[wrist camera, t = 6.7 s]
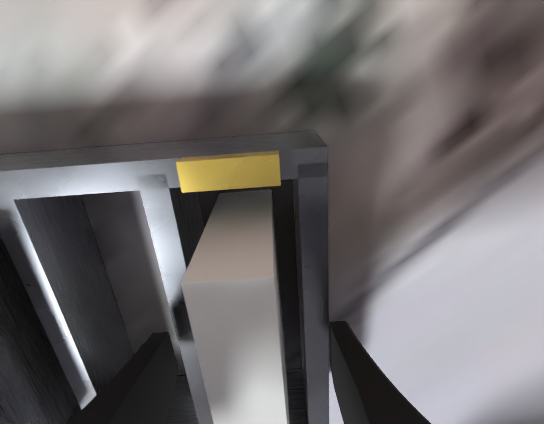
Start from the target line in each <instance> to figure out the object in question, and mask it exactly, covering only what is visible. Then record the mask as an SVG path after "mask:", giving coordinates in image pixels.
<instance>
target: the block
mask: <svg viewBox="0 0 544 424" xmlns="http://www.w3.org/2000/svg"><path fill="white" fill-rule="evenodd" d="M181 286H182V290H183V295H184V299H185V303H186V308H187V312H188V316H189V320H190V325H191V329H192V333H193V338H194V342H195V346H196V350H197V355H198V359H199V363H200V367H201V372H202V376H203V380H204V385H205V389H206V393H207V397H208V402H209V406H210V410H211V415H212V419H213V423H214V424H289V407H288V390H287V374H286V357H285V343H284V332H283V320H282V308H281V296H280V285H279V273H278V261H277V249H276V238H275V226H274V214H273V202H272V191H271V189H270V190H257V191H244V192H231V193H220V194H219V196H218V199H217V201H216V203H215V206H214V208H213V210H212V212H211V215H210V217H209V219H208V222H207V224H206V226H205V229H204V231H203V233H202V236H201V238H200V240H199V243H198V245H197V247H196V250H195V252H194V254H193V257H192V259H191V261H190V263H189V266H188V268H187V270H186V273H185V275H184V277H183V280H182V282H181Z"/></svg>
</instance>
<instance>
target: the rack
mask: <svg viewBox="0 0 544 424" xmlns="http://www.w3.org/2000/svg"><path fill="white" fill-rule="evenodd" d="M287 179H293V195H294V215H295V235H296V255H297V275H298V295H299V315H300V335H301V355H302V369H290V370H286V374H287V390H288V407H289V424H329V316H328V146H327V145H326V144H325V143H324V142H323V141H322V139H321V138H320V137H319V136H318V135H317V134H316V132H315V131H314V130H313V131H300V132H287V133H274V134H261V135H248V136H235V137H222V138H209V139H196V140H183V141H170V142H157V143H143V144H130V145H117V146H104V147H91V148H78V149H65V150H52V151H39V152H26V153H13V154H0V424H67V423H68V422H69V421H70V420H71V419H72V418H73V417H75V416H76V415H77V414H78V413H79V412H80V411H81V410H82V409H83V408H84V407H85V406H86V405H87V404H88V403H89V402H90V401H91V400H92V399H93V398H94V397H95V396H96V395H97V394H98V393H99V392H100V391H101V390H102V389H103V388H104V387H105V386H106V385H107V384H108V383H109V382H110V381H111V380H112V379H113V378H114V376H115V375H116V374H117V373H118V372H119V371H120V370H121V369H122V368H123V367H124V365H125V364H126V363H127V362H128V361H129V360H130V359H131V358H132V356H133V355H134V354H133V351H132V348H131V345H130V342H129V339H128V336H127V333H126V331H125V328H124V325H123V322H122V319H121V316H120V313H119V310H118V307H117V304H116V301H115V298H114V295H113V292H112V289H111V286H110V283H109V280H108V277H107V274H106V271H105V268H104V265H103V262H102V259H101V256H100V253H99V250H98V247H97V244H96V241H95V238H94V235H93V232H92V229H91V226H90V223H89V220H88V217H87V214H86V211H85V208H84V205H83V202H82V199H81V196H80V195H82V194H95V193H109V192H123V191H136V190H140V193H141V197H142V201H143V205H144V209H145V213H146V217H147V221H148V225H149V229H150V233H151V237H152V240H153V244H154V248H155V252H156V256H157V260H158V264H159V268H160V272H161V276H162V280H163V284H164V288H165V292H166V296H167V300H168V304H169V308H170V312H171V316H172V320H173V324H174V327H175V331H176V335H177V339H178V343H179V347H180V351H181V355H182V359H183V363H184V367H185V371H186V375H187V376H177V379H176V384H175V389H174V393H173V397H172V401H171V404H170V407H169V410H168V413H167V416H166V419H165V422H164V424H214V423H213V419H212V415H211V410H210V406H209V402H208V397H207V393H206V389H205V385H204V380H203V376H202V372H201V367H200V363H199V359H198V355H197V350H196V346H195V342H194V338H193V333H192V329H191V325H190V320H189V316H188V312H187V308H186V303H185V299H184V295H183V290H182V286H181V282H182V280H183V277H184V275H185V273H186V270H187V268H188V266H189V263H190V261H191V259H192V257H193V254H194V252H195V250H196V247H197V245H198V243H199V240H200V238H201V236H202V233H203V231H204V226H203V220H202V215H201V209H200V203H199V198H198V192H199V191H213V190H227V189H240V188H254V187H268V186H281V180H287Z"/></svg>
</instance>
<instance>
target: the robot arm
mask: <svg viewBox="0 0 544 424" xmlns="http://www.w3.org/2000/svg"><path fill="white" fill-rule="evenodd" d="M329 340H330V366H331V372H332V378H333V384H334V389H335V392H336V396H337V400H338V403H339V407H340V411H341V414H342V418H343V421H344V424H431V423H430V422H429V421H428V420H427V419H426V418H425V417H424V416H423V415H422V414H421V413H420V412H419V411H418V410H417V409H416V408H415V407H414V406H413V405H412V404H411V403H410V402H409V401H408V400H407V399H406V398H405V397H404V396H403V395H402V394H401V393H400V392H399V391H398V389H397V388H396V387H395V386H394V385H393V384H392V383H391V381H390V380H389V379H388V378H387V377H386V376H385V374H384V373H383V372H382V371H381V370H380V368H379V367H378V366H377V364H376V363H375V362H374V361H373V359H372V358H371V357H370V355H369V354H368V353H367V351H366V350H365V349H364V347H363V346H362V344H361V343H360V342H359V340H358V339H357V337H356V336H355V334H354V333H353V331H352V329H351V328H350V326H349V324H348V323H347V322H346V321H337V322H329ZM177 374H178V366H177V363H176V359H175V355H174V351H173V348H172V344H171V340H170V336H169V332H162V333H153V334H152V335H151V336H150V337H149V338H148V339H147V340H146V342H145V343H144V344H143V345H142V346H141V347H140V348H139V350H138V351H137V352H136V353H135V354H134V355H133V356H132V358H131V359H130V360H129V361H128V362H127V363H126V364H125V365H124V367H123V368H122V369H121V370H120V371H119V372H118V373H117V374H116V375H115V376H114V378H113V379H112V380H111V381H110V382H109V383H108V384H107V385H106V386H105V387H104V388H103V389H102V390H101V391H100V392H99V393H98V394H97V395H96V396H95V397H94V398H93V399H92V400H91V401H90V402H89V403H88V404H87V405H86V406H85V407H84V408H83V409H82V410H81V411H80V412H79V413H78V414H77V415H76V416H75V417H73V418H72V419H71V420H70V421H69V422H68V423H67V424H164V422H165V419H166V416H167V413H168V410H169V407H170V404H171V401H172V397H173V393H174V389H175V384H176V379H177Z"/></svg>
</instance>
